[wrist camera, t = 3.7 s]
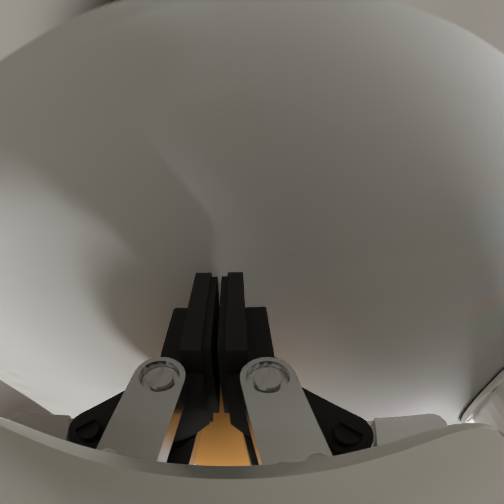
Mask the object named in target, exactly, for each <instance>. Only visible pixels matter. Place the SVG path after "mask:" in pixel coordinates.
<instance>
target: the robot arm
mask: <svg viewBox="0 0 504 504" xmlns="http://www.w3.org/2000/svg"><path fill="white" fill-rule="evenodd" d="M220 382H221V391H222V398H223V406H224V413H229V414H230V423H231V425H233V426H234V427H235V428H237V429H238V430H239V431H241V432H242V433H243V440H244V444H245V448H246V452H247V456H248V460H249V464H250V466H204V465H194V462H195V458H196V454H197V450H198V446H199V442H200V438H201V430H202V429H203V428H205V427H206V426H207V425H209V424H210V422H213V413H219V411H220ZM461 423H462V424H453V425H448V426H447V424H446V421H445V420H444V419H443V418H441V417H440V416H438V415H435V414H422V415H413V416H402V417H388V418H375V419H374V420H373V421H365V420H364V419H362V418H361V417H359V416H357V415H355V414H353V413H351V412H349V411H347V410H345V409H342V408H340V407H338V406H336V405H335V404H333V403H331V402H329V401H327V400H325V399H323V398H321V397H319V396H317V395H315V394H313V393H312V392H310V391H308V390H306V389H304V388H302V387H301V385H300V382H299V380H298V378H297V376H296V373H295V371H294V370H293V368H292V367H291V366H290V365H289V364H288V363H286V362H285V361H283V360H280V359H278V358H274V352H273V346H272V340H271V334H270V328H269V323H268V317H267V311H266V307H245V300H244V283H243V272H228V276H225V277H222V282H221V296H220V306H219V291H218V278H217V277H212V273H196V276H195V280H194V284H193V288H192V292H191V296H190V300H189V305H188V308H175V309H174V311H173V314H172V317H171V321H170V324H169V328H168V331H167V335H166V338H165V342H164V345H163V349H162V353H161V357H157V358H152V359H149V360H147V361H145V362H143V363H142V364H140V365H139V366H138V368H137V369H136V370H135V372H134V374H133V376H132V378H131V380H130V382H129V384H128V385H127V387H126V389H125V391H123V392H121V393H119V394H118V395H116V396H114V397H112V398H110V399H108V400H106V401H104V402H103V403H101V404H99V405H97V406H95V407H93V408H91V409H89V410H87V411H85V412H83V413H81V414H80V415H78V416H77V417H75V418H74V419H72V418H71V417H70V416H69V415H51V414H39V413H29V412H21V413H18V414H16V415H15V416H14V417H13V418H12V419H11V420H8V419H4V418H1V417H0V504H504V369H503V370H502V371H501V372H500V373H499V374H498V375H497V376H496V377H495V378H494V379H493V380H492V381H491V382H490V383H489V384H488V385H487V386H486V388H485V389H484V390H483V391H482V392H481V393H480V394H479V395H478V396H477V397H476V399H475V400H474V401H473V402H472V403H471V405H470V406H469V407H468V408H467V410H466V411H465V413H464V414H463V416H462V419H461Z"/></svg>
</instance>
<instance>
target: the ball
mask: <svg viewBox="0 0 504 504" xmlns="http://www.w3.org/2000/svg"><path fill="white" fill-rule="evenodd" d="M194 464H196V465H204V466H250V464H249V460H248V456H247V452H246V448H245V444H244V440H243V433H242V432H241V431H239V430H238V429H237V428H235V427H234V426H233V425H231V423H230V414H229V413H224V406H223V398H222V391H221V382H220V411H219V413H213V422H210V424H209V425H207V426H206V427H205V428H203V429H202V430H201V438H200V442H199V446H198V450H197V454H196V458H195V462H194Z"/></svg>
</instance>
